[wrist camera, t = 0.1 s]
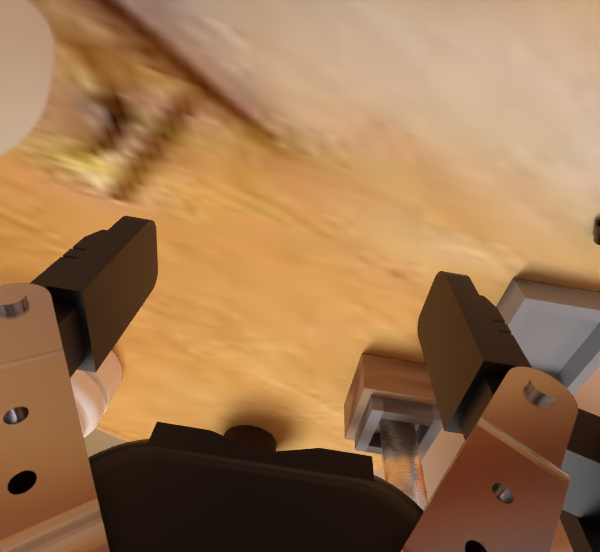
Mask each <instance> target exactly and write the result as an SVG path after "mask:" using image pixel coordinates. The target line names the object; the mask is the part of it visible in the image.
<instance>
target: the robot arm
mask: <svg viewBox="0 0 600 552" xmlns="http://www.w3.org/2000/svg"><path fill="white" fill-rule="evenodd" d="M157 274H158V260H157V237H156V225H155V223H154V221H152V220H147V219H141V218H136V217H130V216H123V217H122V218H121V219H120V220H119V221H118V222H116V223H115V224H114V225H113V226H112V227H111V228H110V229H109V230H100V231H98V232H96V233H93V234H91V235H88V236H86V237H84V238H83V239H82V240H80V241H79V242H78V243H77V244H76V245H75V246H73V249H70V250H69V251H67V252H66V253H65V254H64V255H63V257H60V258H59V259H58V260H57V261H56V262H54V263H53V264H52V265H51V266H50V267H49V268H47V269H46V270H45V271H44V272H43V273H41V274H40V275H39V276H38V277H37V278H35V279H34V280H33V281H32V282H31V283H30V284H29V283H15V284H8V285H3V286H0V552H550V551H551V547H552V544H553V540H554V537H555V533H556V529H557V526H558V522H559V518H560V520H561V522H562V524H563V527H564V529H565V532H566V534H567V536H568V539H569V541H570V544H571V546H572V549H573V551H574V552H600V417H599V416H596V415H594V414H591V413H588V412H586V411H584V410H581V409H579V408H578V404H577V402H576V400H575V398H574V396H573V395H572V394H571V392H570V391H569V390H568V389H567V388H566V387H565V386H564V385H563V384H561V383H560V382H559V381H558V380H556V379H555V378H553V377H551V376H550V375H548V374H546V373H544V372H542V371H539V370H537V369H533V368H532V366H531V365H530V363H529V361H528V360H527V358H526V356H525V355H524V353H523V351H522V349H521V348H520V346H519V344H518V343H517V341H516V339H515V337H514V336H513V335H511V331H510V329H509V327H508V325H507V324H505V320H504V319H503V317H502V315H501V314H500V312H499V310H498V308H497V307H495V306H494V305H493V304H492V303H491V302H490V301H489V300H488V299H487V298H485V297H484V296H481V295H479V294H478V292H477V290H476V288H475V287H474V285H473V283H472V281H471V279H470V278H469V276H467V275H461V274H455V273H449V272H444V271H440V272H439V273H438V274H437V275H436V277H435V279H434V281H433V284H432V286H431V289H430V291H429V294H428V296H427V299H426V301H425V304H424V306H423V308H422V311H421V313H420V316H419V320H418V337H419V341H420V344H421V348H422V351H423V355H424V359H425V362H426V366H427V370H428V373H429V377H430V380H431V384H432V388H433V391H434V395H435V399H436V402H437V406H438V409H439V413H440V417H441V420H442V424H443V427H444V431H448V432H455V433H461V434H463V435H464V438H465V442H464V444H463V445H462V447H461V448H460V450H459V452H458V453H457V455H456V457H455V458H454V460H453V462H452V463H451V465H450V466H449V468H448V470H447V471H446V473H445V475H444V476H443V478H442V480H441V482H440V483H439V485H438V486H437V488H436V490H435V491H434V493H433V495H432V496H431V498H430V500H429V501H428V503H427V504H426V506H425V508H424V509H423V510H422V509H421V507H420V506H419V505H418V504H417V503H416V502H414V501H413V500H412V499H411V498H410V497H409V496H407V495H406V494H405V493H404V492H402V491H401V490H400V489H398V488H397V487H395V486H394V485H392V484H391V483H389V482H387V481H385V480H383V479H382V478H380V477H377V476H375V475H374V474H373V463H372V456H366V455H360V454H354V453H347V452H341V451H335V450H329V449H323V448H314V449H302V450H290V451H278V452H261V451H258V450H255V449H253V448H251V447H248V446H246V445H244V444H241V443H239V442H237V441H234V440H232V439H229V438H227V437H225V436H222V435H220V434H218V433H215V432H213V431H211V430H205V429H198V428H192V427H186V426H180V425H174V424H167V423H161V422H157V423H156V426H155V428H154V430H153V432H152V435H151V437H150V439H144V440H137V441H132V442H127V443H124V444H120V445H117V446H113V447H111V448H108V449H106V450H104V451H101V452H99V453H97V454H95V455H93V456H91V457H89V458H88V455H87V451H86V446H85V442H84V437H83V433H82V428H81V424H80V420H79V415H78V411H77V407H76V402H75V398H74V393H73V389H72V385H71V380H70V378H71V377H72V375H73V374H74V373H75V371H76V370H83V371H89V372H95V373H96V372H97V370H98V369H99V367H100V366H101V364H102V363H103V362H104V360H105V359H106V357H107V356H108V354H109V353H110V351H111V350H112V348H113V347H114V345H115V344H116V343H117V341H118V340H119V338H120V337H121V335H122V334H123V332H124V331H125V329H126V328H127V327H128V325H129V324H130V322H131V321H132V319H133V318H134V316H135V315H136V313H137V312H138V311H139V309H140V308H141V306H142V305H143V303H144V302H145V300H146V299H147V297H148V296H149V295H150V293H151V292H152V290H153V288H154V286H155V283H156V280H157Z"/></svg>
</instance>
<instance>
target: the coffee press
mask: <svg viewBox="0 0 600 552" xmlns="http://www.w3.org/2000/svg"><path fill="white" fill-rule="evenodd" d="M593 241H594V242H595V243H596V244H598V245H600V220H598V221H596V223H595V229H594V238H593Z"/></svg>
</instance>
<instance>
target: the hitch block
mask: <svg viewBox="0 0 600 552" xmlns="http://www.w3.org/2000/svg"><path fill="white" fill-rule="evenodd" d="M344 417H345V439H349V440H355V450H358V451H365V452H371V453H378V454H382V451H381V440H380V430H379V421H380V419H381V418H382V419H388V420H394V421H401V422H407V423H413V424H415V429H416V435H417V441H418V446H419V452H420V458H421V460H422V459H423V457H424V456H425V454H426V452H427V451H428V449H429V448H430V446H431V444H432V443H433V441H434V440H435V438H436V436H437V435H438V433H439V432H440V430H441V428H442V427H443V424H442V420H441V417H440V413H439V409H438V406H437V402H436V399H435V395H434V391H433V388H432V384H431V380H430V377H429V373H428V370H427V366H426V364H423V363H417V362H411V361H405V360H399V359H392V358H386V357H380V356H374V355H368V354H362V355H361V358H360V361H359V364H358V367H357V370H356V372H355V375H354V378H353V381H352V384H351V387H350V390H349V393H348V395H347V398H346V401H345V404H344Z"/></svg>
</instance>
